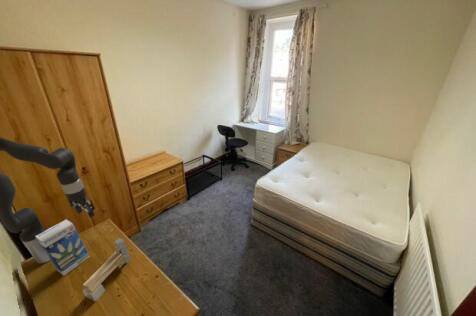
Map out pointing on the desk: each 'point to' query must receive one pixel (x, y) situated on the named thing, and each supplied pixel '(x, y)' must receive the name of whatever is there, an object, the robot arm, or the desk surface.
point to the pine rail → (102, 272)
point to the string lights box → (63, 246)
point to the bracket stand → (124, 259)
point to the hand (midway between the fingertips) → (86, 214)
